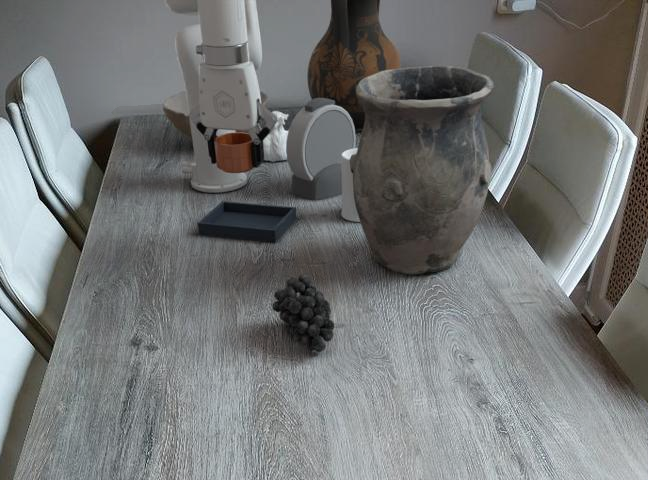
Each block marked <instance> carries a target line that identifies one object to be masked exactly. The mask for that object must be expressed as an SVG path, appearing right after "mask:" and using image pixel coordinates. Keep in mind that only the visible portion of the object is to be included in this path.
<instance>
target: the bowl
mask: <svg viewBox="0 0 648 480" xmlns="http://www.w3.org/2000/svg"><path fill="white" fill-rule="evenodd" d="M260 96H261V104H262V105H263V106H264V107H266V108H267V109H268V103H269V102H268V101H269V98H268V95H267V93H265V92H263V91H261V90H260ZM162 110H163V112H164V114H165V116H166V117H167V119H168V120H169V121H170V122H171V124H172V125H173V126H174V127H175V128H176V129H177V130H179V131H180V132H181V133H182V134H184V135H185V136H186V137H187V138H190V139H191V140H192V134H191V126H190V119H189V112H188V105H187V98H186V92H185V90H184V91H180V92H178V93H175V94H174V95H172V96H170V97H168V98H167V99H165V100H164V101H163V103H162ZM262 120H264V119H263V118H262ZM260 124H261V122H260V123H259V125H260ZM235 132H243V133H248V131H237V130H235Z"/></svg>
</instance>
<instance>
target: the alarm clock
mask: <svg viewBox="0 0 648 480" xmlns="http://www.w3.org/2000/svg"><path fill="white" fill-rule="evenodd" d="M288 131H289V132H288V137H287V142H286V153H287V160H288V161H287V160H286V161H287V164H288V165H289V168H290V171H291V172H292V173H293V174H292V184H291V185H292V186H291V193H292V194H294V195H297V196H300V197H303V198H305V199H309V200H312V201H319V200H324V199H328V198H333V197H334V196H335V197H336V196H338V195H342V163H341V154H342V153H343V152H344V151H346V150H349V149H354V148H356V141H357V139H356V138H357V137H356V132H355V127H354V124H353V121H352V118H351V117H350V115H349V114H348V112H347V111H346V110H344V109H343V108H342V107H339V106H336V105H335V101H334V100H330V99H326V98H314V99H311V100H309V101H308V102H307V103H306V104H305V105H304V106H303V107H302V108H301V109H300V110H299V111H298V112H297V113H296V115H295V116H294V118H293V120H292V121H291V123H290V126H289V129H288Z"/></svg>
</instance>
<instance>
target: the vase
mask: <svg viewBox="0 0 648 480" xmlns="http://www.w3.org/2000/svg"><path fill="white" fill-rule="evenodd" d="M380 4H381V0H330V9H331V12H330V20H329V23H328V24H329V25H328V27H327V29H326V31H325V33H324V34H323V36H322V37H321V38H320V39H319V41H318V42H317V44H316V45H315V47H314V49H313V50H312V52H311V55H310V58H309V61H308V66H307V74H306V75H307V76H306V77H307V79H306V81H307V88H308V94H309V96H310V99H311V100H312V99H314V98H326V99H330V100H334V101H335V105H336V106H339V107H342V108H343V109H344V110H346V111H347V112H348V114H349V115H350V117H351V118H352V121H353V124H354V127H355V133H356V132H362V131H363V127H364V123H365V112H364V110H363V108H362V106H361V104H360V102H359V100H358V98H357V95H356V87H357V85H358V84H359V82H360V81H361V80H362V79H364V78H366V77H369V76H371V75H374V74H376V73H379V72H381V71H386V70H394V69H401V68H402V60H401V57H400V54H399V51H398V49H397V47H396V45H394V43H393V42H392V41H391V40H390V39H389V37H387V35H386V34H385V32H384V30H383V28H382V26H381V22H380V7H381V5H380Z"/></svg>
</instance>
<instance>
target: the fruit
mask: <svg viewBox="0 0 648 480" xmlns="http://www.w3.org/2000/svg"><path fill="white" fill-rule="evenodd" d="M298 294H299V295H298ZM274 299H275V300H277V301H274V302H273V303H272V304H271V305H272V310H273V311H274V312H276V313H279V319H280V320H281V321H283V322H284V324H285V326H284V330H285V332H286V333H287V334H288V335H289V334H290V335H292V338H293V340H294V341H295V342H297V343H301V344H302V345H303V346H305V347H306V348H307V349H308V350H310V351H315V352H317V353H322V352H323V351H324V350H326V348H327V347H326V346H327V345H326V342H330V341H331V340H333V338H334V332H333V330H334V329H335V322H334V321H333V320H331V316H330V315H331V313H332V309H331V308H330V306H331V305H330V302H329V301H328V300H326V299H325V297H324V293H323V292H322V291H320V290H318V288H317V286H316V284H314V283H313V281H312V279H311V278H310V277H309V276H308V275H307V274H300V275H299V276H298V278H296V277H293V276H291V277H290V278H288V279H287V281H286V287H284V288H283V289H277V290H276V291H275V292H274Z"/></svg>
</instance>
